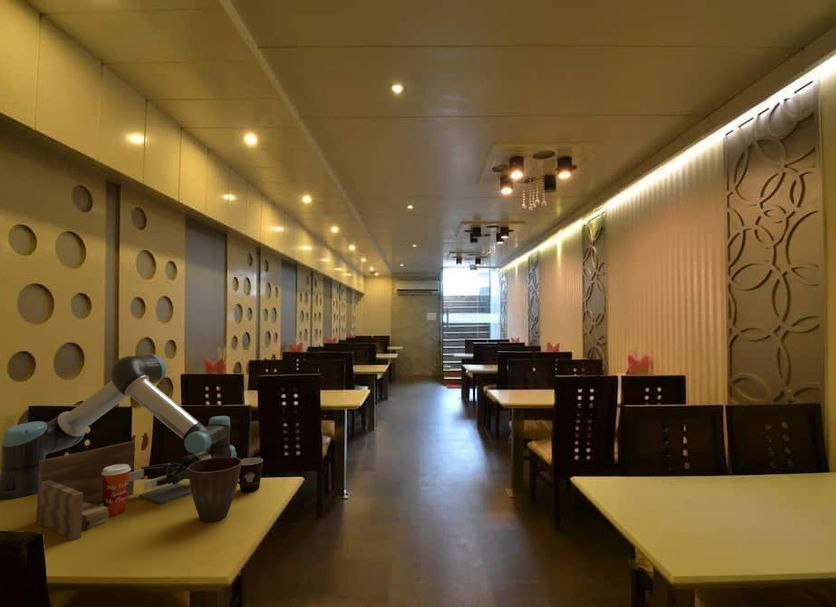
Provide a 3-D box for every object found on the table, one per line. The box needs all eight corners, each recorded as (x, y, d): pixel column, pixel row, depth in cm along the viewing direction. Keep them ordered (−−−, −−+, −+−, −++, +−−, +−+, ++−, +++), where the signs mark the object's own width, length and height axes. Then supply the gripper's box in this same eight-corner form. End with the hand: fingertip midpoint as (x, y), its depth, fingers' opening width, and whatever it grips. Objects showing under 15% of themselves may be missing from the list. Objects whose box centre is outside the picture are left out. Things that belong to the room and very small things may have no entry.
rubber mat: (139, 497, 146) (139, 494, 146) (176, 485, 157) (176, 482, 157) (160, 504, 139) (160, 501, 139) (198, 491, 151) (198, 489, 151)
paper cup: (106, 519, 128) (108, 472, 129) (95, 514, 132) (96, 468, 133) (134, 510, 135) (136, 465, 136) (123, 505, 139) (124, 461, 140)
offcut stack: (56, 526, 125) (56, 510, 125) (80, 516, 131) (81, 501, 132) (86, 532, 121) (86, 515, 121) (109, 521, 128) (110, 506, 128)
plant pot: (251, 510, 134) (252, 459, 135) (215, 531, 120) (216, 473, 121) (213, 504, 139) (214, 455, 140) (174, 524, 125) (176, 469, 126)
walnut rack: (36, 521, 127) (39, 460, 128) (130, 492, 150) (132, 441, 151) (72, 540, 116) (75, 472, 117) (168, 506, 138) (170, 449, 139)
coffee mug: (266, 485, 156) (267, 457, 157) (255, 494, 147) (256, 465, 148) (236, 484, 157) (237, 457, 158) (223, 493, 149) (224, 464, 149)
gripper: (216, 480, 150) (154, 501, 132) (175, 469, 162) (113, 487, 144) (217, 458, 151) (155, 476, 132) (175, 449, 163) (114, 465, 144)
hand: (133, 482), depth 138 cm, fingers open, 13 cm apart
